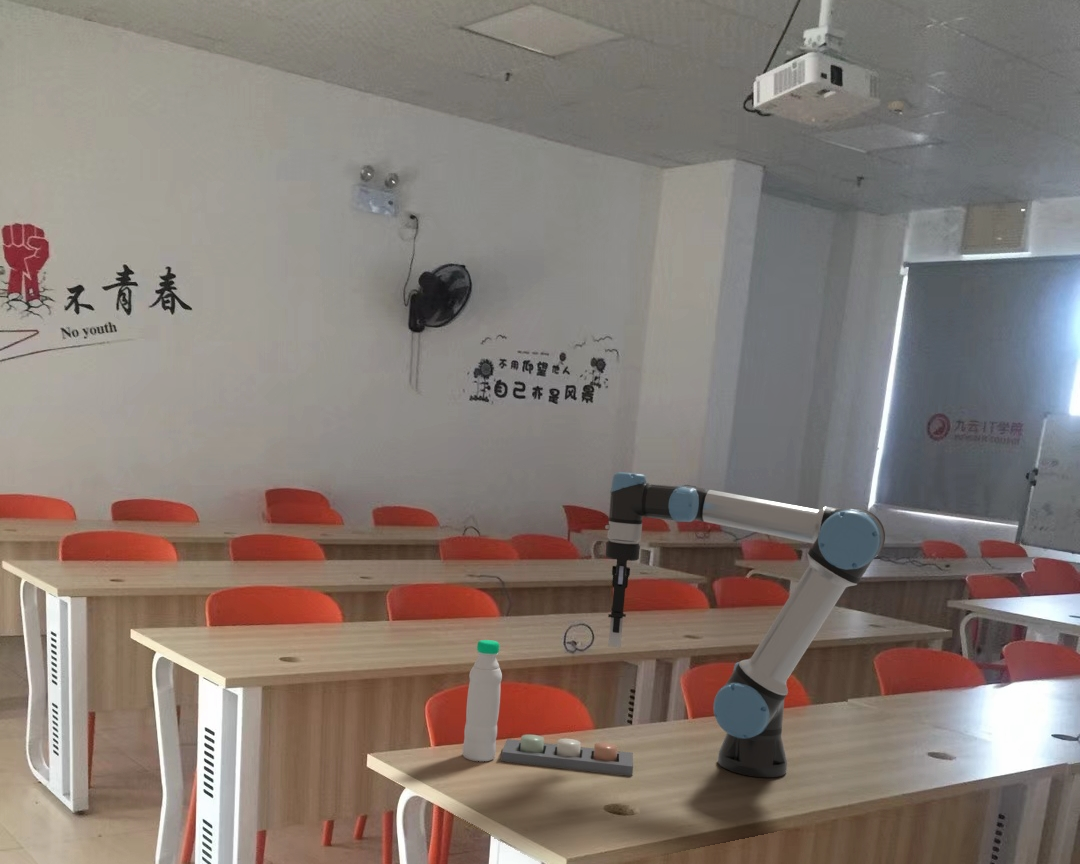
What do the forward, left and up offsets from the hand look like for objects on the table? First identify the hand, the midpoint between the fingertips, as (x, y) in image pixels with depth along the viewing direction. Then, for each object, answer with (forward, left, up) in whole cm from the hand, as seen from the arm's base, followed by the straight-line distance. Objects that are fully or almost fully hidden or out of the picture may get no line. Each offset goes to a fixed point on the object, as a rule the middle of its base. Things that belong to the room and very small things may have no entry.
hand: (614, 646), depth 237 cm
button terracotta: (0, +8, -24) cm, 25 cm away
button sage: (+16, +8, -24) cm, 30 cm away
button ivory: (+8, +8, -24) cm, 27 cm away
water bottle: (+27, +12, -25) cm, 38 cm away
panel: (+8, +8, -24) cm, 27 cm away
